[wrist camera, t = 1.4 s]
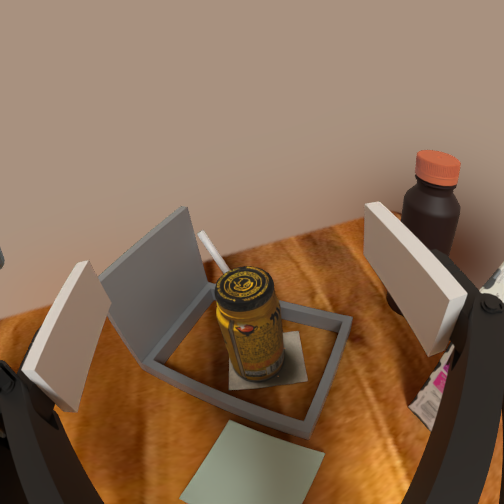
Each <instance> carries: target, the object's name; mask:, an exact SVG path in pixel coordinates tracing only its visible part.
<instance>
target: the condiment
mask: <svg viewBox="0 0 504 504" xmlns="http://www.w3.org/2000/svg"><path fill="white" fill-rule="evenodd" d="M214 293H215V298H216V300H217V309H216V315H217V320H218V323H219V326H220V329H221V332H222V335H223V338H224V341H225V345H226V348H227V351H228V354H229V390H241V389H254V388H264V387H271V386H276V385H287V384H293V383H298V382H305V381H308V379H307V374H306V369H305V363H304V358H303V353H302V347H301V342H300V336H299V331H295V332H288V333H283V330H282V320H281V306H280V302H279V299H278V298H277V296H276V294H275V290H274V282H273V280H272V277H271V276H270V274H269V273H267V272H266V271H264V270H263V269H260V268H256V267H251V266H244V267H239V268H235V269H232V270H230V271H228V272H226V273H224V274H223V275H222V276H221V277H220V278H219V279H218V281H217V283H216V286H215V291H214ZM284 348H285V349H284ZM278 376H279V377H278Z"/></svg>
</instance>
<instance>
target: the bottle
mask: <svg viewBox="0 0 504 504" xmlns="http://www.w3.org/2000/svg"><path fill="white" fill-rule="evenodd" d="M459 171H460V162H459V160H458V159H456V158H455V157H453V156H451V155H449V154H446V153H443V152H439V151H433V150H422V151H419V152H418V153H417V158H416V168H415V173H416V175H415V177H416V179H417V184H416V185H415V186H413V187H412V188H410V189H409V190H408V191H407V192H406V194H405V196H404V202H403V209H402V216H401V222H402V223H403V224H404V225H405V226H406V227H407V228H408V229H409V230H410V231H411V232H412V233H413V234H414V235H415V236H416V237H417V238H418V239H419V240H420V241H421V242H422V243H423V244H424V245H425V247H426V248H427V249H428V250H433V249H437V250H439V251H440V252H442V253H444V254H446V255H447V256H448V257H449V253H450V250H451V246H452V243H453V239H454V235H455V231H456V227H457V223H458V219H459V215H460V205H459V203H458V201H457V199H456V197H455V195H454V194H453V189H455V188H456V185H457V182H458V177H459ZM387 300H388V303H389V305H390V306H391V308H392V309H393V310H394V311H396V312H397V313H399V314H401V315H403V314H402V312H401V310H400V309H399V307H398V306H397V304H396V302H395V301H394V299H393V298H392V296H391V295H390V293H389V292H388V291H387ZM403 316H404V315H403Z"/></svg>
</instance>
